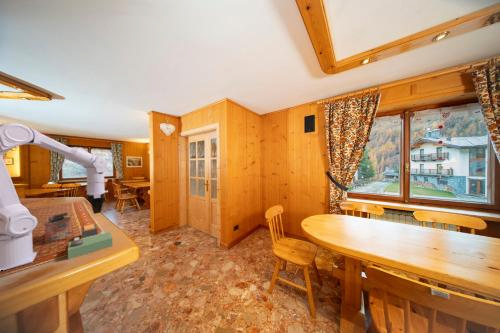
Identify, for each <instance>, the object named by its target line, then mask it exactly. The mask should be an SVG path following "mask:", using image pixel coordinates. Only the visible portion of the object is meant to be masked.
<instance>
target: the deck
mask: <svg viewBox="0 0 500 333" xmlns="http://www.w3.org/2000/svg"><path fill="white" fill-rule="evenodd" d="M97 234H98V235H94V236H90V237H86V238H82V237H81V238H80V236H78V237H74V240H72V241H69V242H68V246H67V259H68V260H70V259H74V258H76V257H79V256H83V255H86V254H87V255H88V254H90V253H93V252H96V251H100V250H103V249H106V248H110V247H113V237H112V235H111V231H109V232H108V231H107V232H105V231H104V230H101V231H100V232H99V233H97ZM109 246H110V247H109Z"/></svg>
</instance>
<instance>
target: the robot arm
mask: <svg viewBox="0 0 500 333" xmlns="http://www.w3.org/2000/svg"><path fill="white" fill-rule="evenodd" d="M22 145H35V146H38V147H41V148H44V149H47V150H49V151H53V152H55V153H58V154H60V155H63V156H64V158H65V159H66V160H68V161H71V162H74V163H76V164H78V165H81V166H83V168H85V169H86V189H87V191H86V195H88V196H87V201H88V202H89V204H90V205H91V208H92V212H93V214H94V215H95V214H99V213H100V214H101V213H102V208H103V205H104V201H105V200H106V196H104V195H105V193H109V190H105V187H106V186H105V172H106V167H107V166H108V162H107V160H106V159H105V158H104V157H103V156H96V155H95V153H90V152H88V151H87V150H84V148H83V147H77V146H74V147H69V146H67V145H65V144H64V143H61V142H59V141H57V140H55V139H53V138H51V137H49V136H47V135H46V134H43V133H41V132H40V131H38V130H36V129H34V128H29V127H28V126H26V125H24V124H21V123H18V122H17V123H16V122H14V123H13V122H11V123H5V124H4V123H2V124H0V272H2V271H1V270H3V271H5V270H9V269H13V268H17V267H20V266H23V265H27V264H31V263H33V262H34V261H35V258H36V256H37V254H38V252H37V251H34V248H33V247H34V246H33V245H34V243H33V231H34V229H35V228H36V227H37V226H38V218H37V217H36V216H34V215H32V214H31V213H30V211H29V209H28V207H26V206H24V205H23V204H21V201H20V199H19V196H18V194H17V191H16V188H15V185H14V183H13V181H12V177H11V175H10V172H9V170H8V166H7V164H6V163H5V160H4V157H3V156H4V155H5V154H6V153H8V152H9V151H11V150H12V149H13V148H16V147H19V146H22Z"/></svg>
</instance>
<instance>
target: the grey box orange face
mask: <svg viewBox="0 0 500 333" xmlns="http://www.w3.org/2000/svg"><path fill="white" fill-rule="evenodd" d="M80 228H81V232H80V233H81V239H82V238H86V237H90V236H94V235H98V234H99V233H98V226H97V224H94V223H90V224H87V225H83V227H80Z"/></svg>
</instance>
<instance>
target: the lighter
mask: <svg viewBox="0 0 500 333" xmlns="http://www.w3.org/2000/svg"><path fill="white" fill-rule="evenodd" d="M68 215H69V213H68V212H63V213H59V214H53V215H51V216H49V217H47V219H48V221H47V222H44V224H43V226H44V228H45V229H44V234H45V235H44V236H45V238H44V242H45V243H49V242H53V241H56V240H59V239H62V238H64V237H67V236H69V235H71V234H72V231H71V223H70V222H71V216H68ZM66 216H67V217H66Z"/></svg>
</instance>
